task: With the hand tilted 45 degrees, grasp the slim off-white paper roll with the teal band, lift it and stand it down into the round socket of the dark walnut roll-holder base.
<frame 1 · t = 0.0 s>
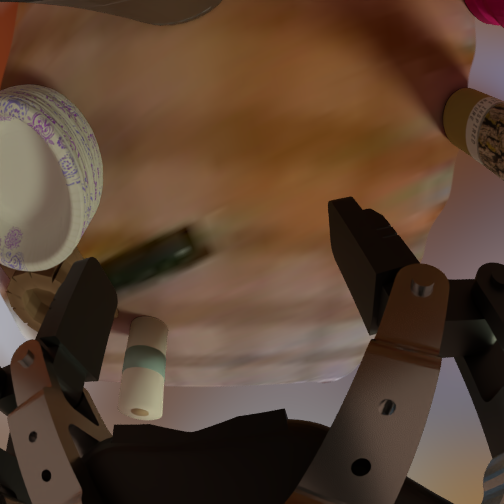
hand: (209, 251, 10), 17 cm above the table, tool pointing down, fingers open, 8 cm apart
holder: (58, 286, 32), on the table
bark covered cylinder: (461, 116, 24), on the table
paper bowls: (44, 155, 23), on the table
roll: (149, 328, 38), on the table
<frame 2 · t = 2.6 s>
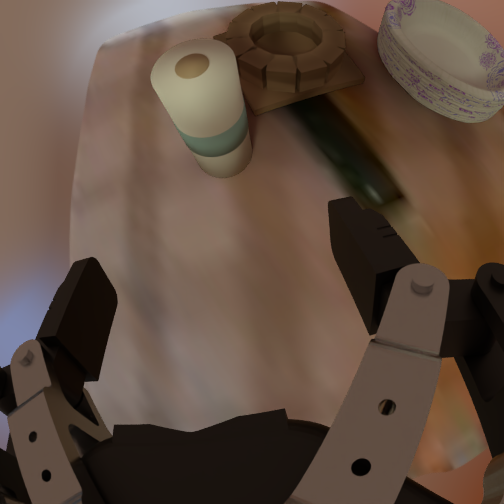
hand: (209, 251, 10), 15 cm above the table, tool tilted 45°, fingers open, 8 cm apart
holder: (285, 57, 28), on the table
paper bowls: (430, 81, 27), on the table
roll: (224, 152, 27), on the table
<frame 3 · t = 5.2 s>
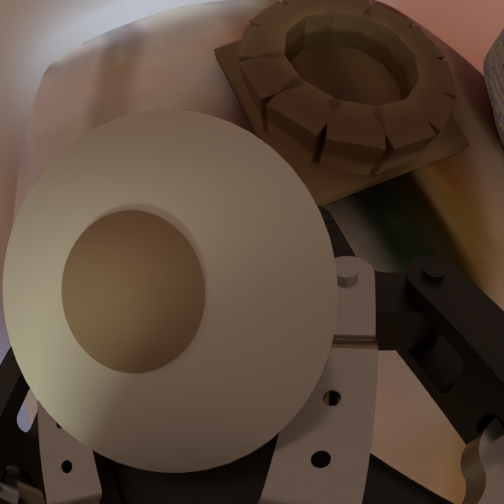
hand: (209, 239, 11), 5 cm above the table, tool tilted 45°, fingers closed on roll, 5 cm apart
holder: (342, 94, 17), on the table
roll: (239, 293, 15), on the table, touching gripper
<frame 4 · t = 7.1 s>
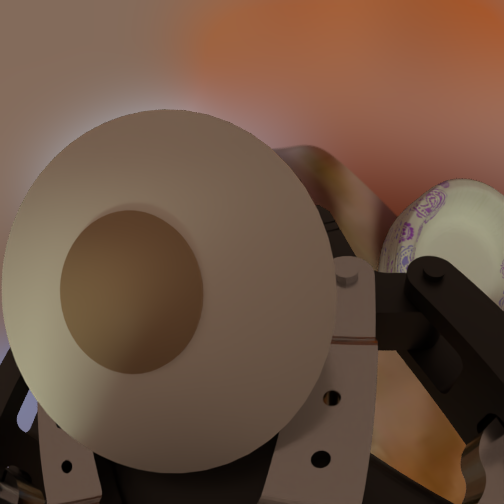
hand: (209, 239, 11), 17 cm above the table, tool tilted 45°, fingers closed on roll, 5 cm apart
paper bowls: (435, 280, 26), on the table
roll: (238, 293, 15), point 12 cm above the table, touching gripper
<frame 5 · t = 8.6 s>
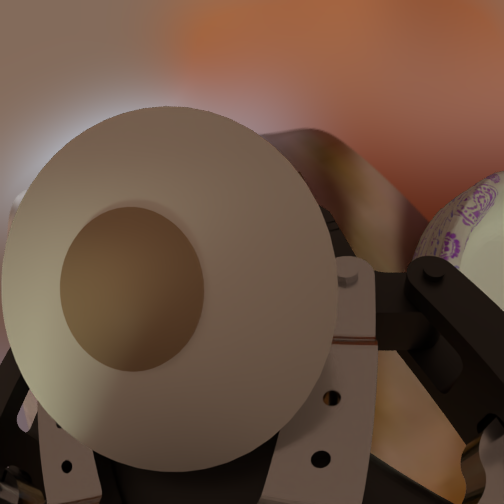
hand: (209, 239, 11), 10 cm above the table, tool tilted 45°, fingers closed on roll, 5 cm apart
paper bowls: (471, 299, 19), on the table
roll: (239, 292, 15), point 5 cm above the table, touching gripper
when the fingers open (8 cm above the table, at t = 9.5 s): roll drops 2 cm, resting on holder.
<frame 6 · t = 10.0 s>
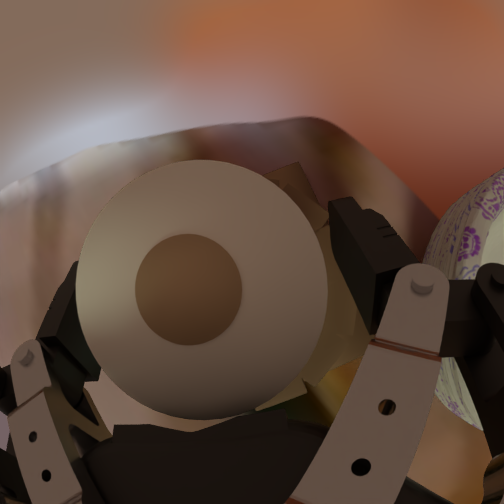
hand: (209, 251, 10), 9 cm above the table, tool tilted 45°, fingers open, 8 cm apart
holder: (244, 293, 18), on the table
paper bowls: (482, 303, 17), on the table
roll: (246, 293, 17), point 1 cm above the table, touching holder
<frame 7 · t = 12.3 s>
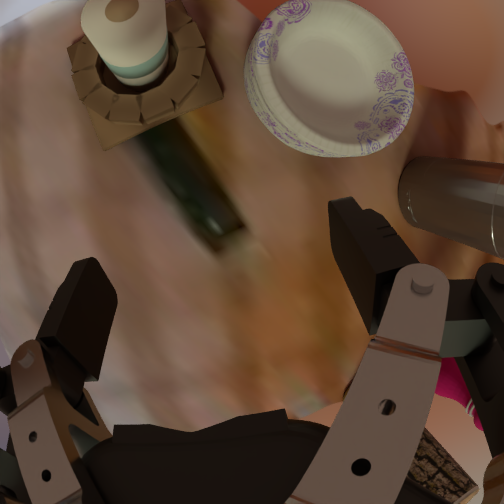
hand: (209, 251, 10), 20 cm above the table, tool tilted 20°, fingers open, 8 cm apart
holder: (141, 69, 24), on the table
bark covered cylinder: (360, 390, 42), on the table
paper bowls: (308, 87, 28), on the table
roll: (142, 66, 23), point 1 cm above the table, touching holder
pepper mill: (430, 360, 44), on the table
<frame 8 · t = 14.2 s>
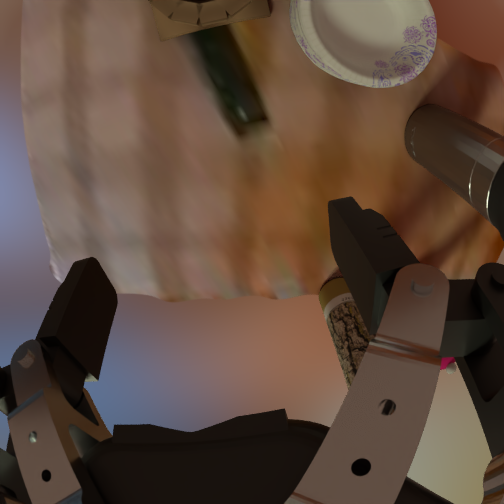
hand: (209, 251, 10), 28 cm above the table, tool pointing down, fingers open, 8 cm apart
bark covered cylinder: (336, 289, 52), on the table
paper bowls: (346, 22, 27), on the table
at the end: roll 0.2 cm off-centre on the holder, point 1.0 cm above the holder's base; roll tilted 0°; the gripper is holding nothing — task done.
